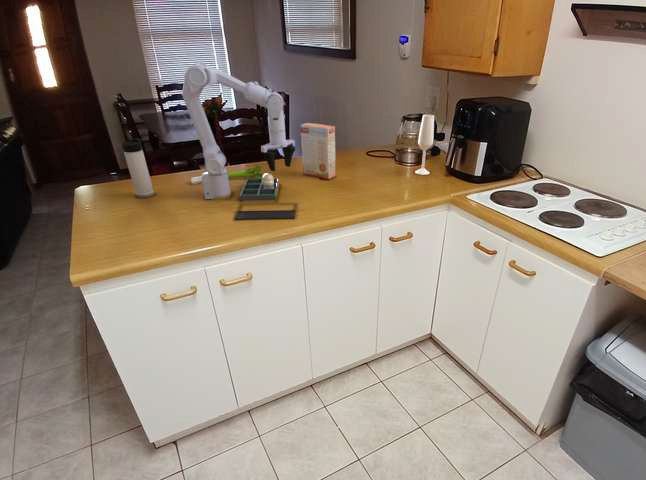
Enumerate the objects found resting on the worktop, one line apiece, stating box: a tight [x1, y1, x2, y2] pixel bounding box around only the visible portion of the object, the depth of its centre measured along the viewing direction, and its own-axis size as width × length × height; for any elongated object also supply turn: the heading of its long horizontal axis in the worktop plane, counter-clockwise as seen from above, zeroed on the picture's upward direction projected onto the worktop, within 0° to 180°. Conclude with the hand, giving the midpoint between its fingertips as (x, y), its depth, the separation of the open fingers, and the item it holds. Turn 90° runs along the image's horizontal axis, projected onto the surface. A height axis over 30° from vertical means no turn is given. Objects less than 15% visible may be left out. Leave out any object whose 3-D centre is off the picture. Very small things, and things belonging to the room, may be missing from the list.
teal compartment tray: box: [239, 177, 281, 202], centre depth 159 cm, size 13×20×3 cm
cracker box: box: [300, 122, 336, 180], centre depth 173 cm, size 14×6×21 cm, turn 58°
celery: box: [191, 164, 264, 186], centre depth 170 cm, size 6×7×30 cm
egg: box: [261, 172, 275, 189], centre depth 157 cm, size 4×4×7 cm
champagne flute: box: [414, 114, 435, 176], centre depth 178 cm, size 7×7×24 cm
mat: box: [234, 209, 296, 221], centre depth 144 cm, size 20×14×1 cm
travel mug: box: [121, 138, 155, 199], centre depth 151 cm, size 6×7×20 cm
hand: (280, 168), depth 154 cm, fingers open, 7 cm apart
